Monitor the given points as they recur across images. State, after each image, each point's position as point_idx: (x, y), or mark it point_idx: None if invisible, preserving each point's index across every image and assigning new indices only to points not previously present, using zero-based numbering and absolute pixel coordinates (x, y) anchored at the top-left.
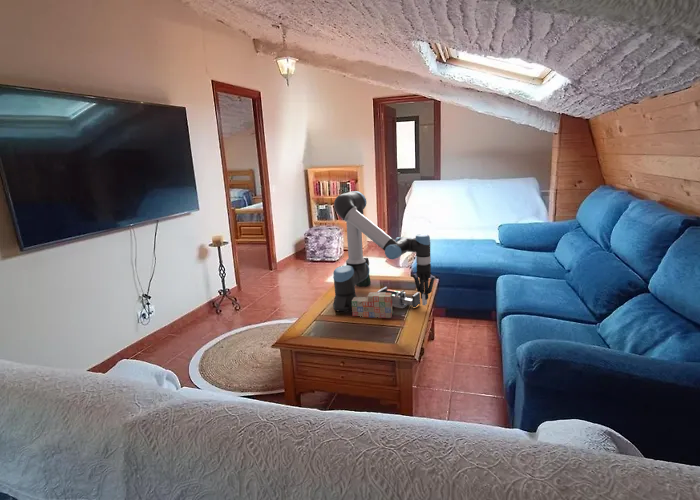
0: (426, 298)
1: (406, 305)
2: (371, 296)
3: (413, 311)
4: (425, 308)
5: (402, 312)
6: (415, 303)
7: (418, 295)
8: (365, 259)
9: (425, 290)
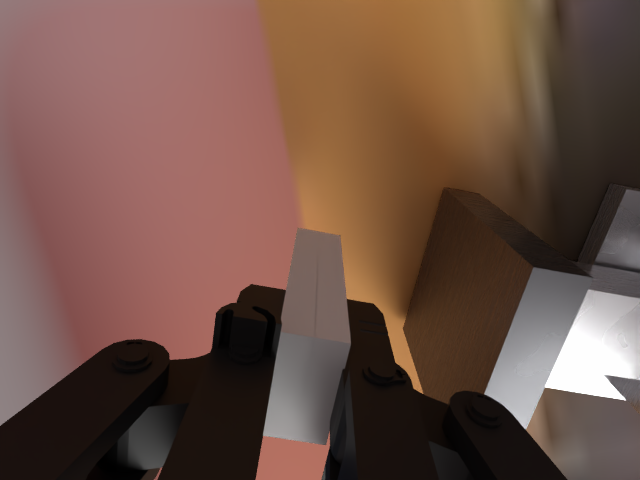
0: (256, 296)
1: None
2: None
3: (448, 122)
4: None
5: (608, 36)
6: (459, 238)
7: None
8: None
9: (229, 416)
